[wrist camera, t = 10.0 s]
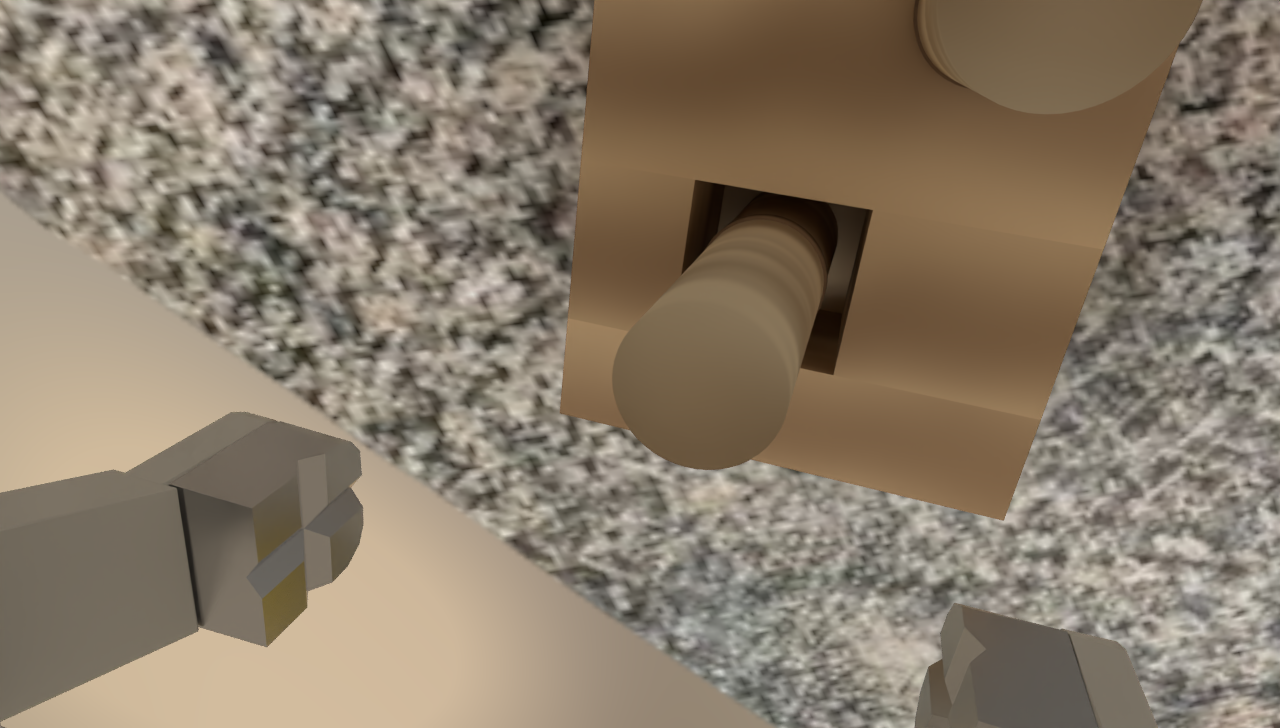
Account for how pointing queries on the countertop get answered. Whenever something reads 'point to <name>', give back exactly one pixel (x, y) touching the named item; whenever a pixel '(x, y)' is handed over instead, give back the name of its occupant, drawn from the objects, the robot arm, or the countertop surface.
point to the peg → (729, 337)
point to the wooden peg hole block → (874, 205)
